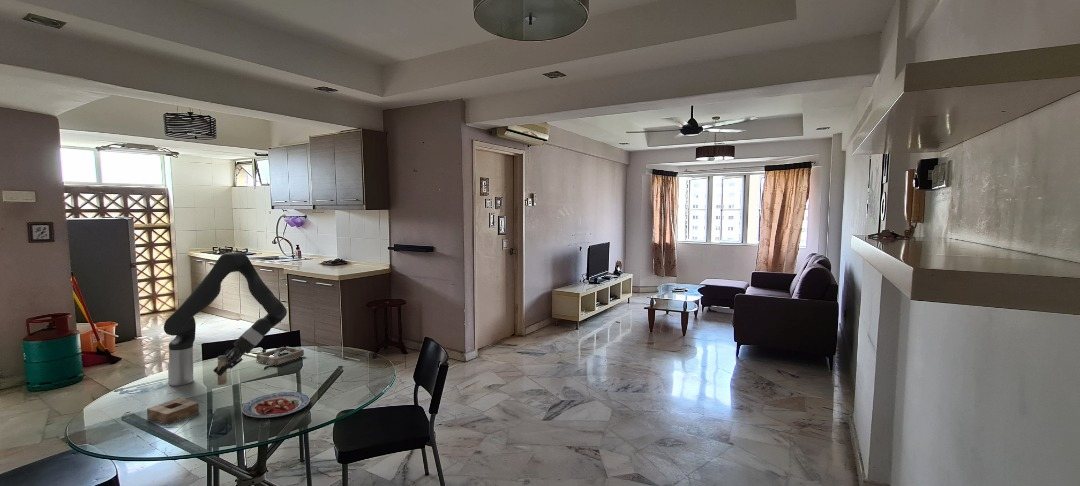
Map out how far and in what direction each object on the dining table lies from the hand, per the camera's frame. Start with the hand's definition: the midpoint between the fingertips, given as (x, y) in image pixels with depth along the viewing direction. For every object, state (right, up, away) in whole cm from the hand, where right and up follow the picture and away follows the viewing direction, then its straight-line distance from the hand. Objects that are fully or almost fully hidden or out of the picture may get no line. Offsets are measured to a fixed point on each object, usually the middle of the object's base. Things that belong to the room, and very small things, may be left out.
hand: (216, 373), depth 197 cm
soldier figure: (-10, -11, +62) cm, 64 cm away
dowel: (+1, -5, +2) cm, 5 cm away
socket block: (-13, -15, -8) cm, 21 cm away
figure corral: (-9, -10, +64) cm, 66 cm away
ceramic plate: (+23, -17, +4) cm, 29 cm away
